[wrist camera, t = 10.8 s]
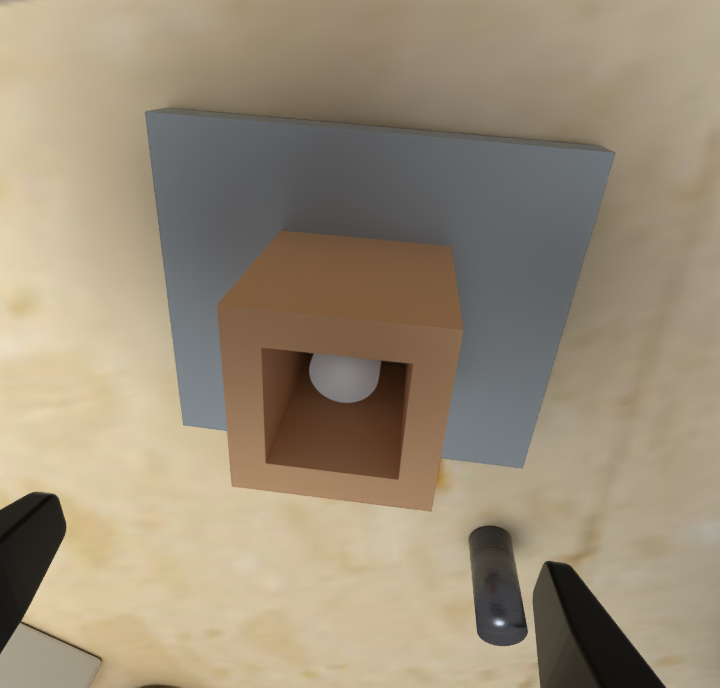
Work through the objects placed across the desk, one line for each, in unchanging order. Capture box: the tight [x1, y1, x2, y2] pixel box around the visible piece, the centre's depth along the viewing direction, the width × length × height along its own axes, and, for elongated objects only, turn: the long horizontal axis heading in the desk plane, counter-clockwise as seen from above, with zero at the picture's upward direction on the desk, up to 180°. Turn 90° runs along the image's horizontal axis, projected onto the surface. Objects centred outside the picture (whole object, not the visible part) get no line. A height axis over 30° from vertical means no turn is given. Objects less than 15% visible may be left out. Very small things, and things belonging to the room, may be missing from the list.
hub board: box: [145, 108, 615, 468], centre depth 17 cm, size 14×12×6 cm
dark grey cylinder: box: [469, 526, 528, 646], centre depth 23 cm, size 2×2×4 cm
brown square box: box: [217, 231, 463, 511], centre depth 16 cm, size 6×6×6 cm
